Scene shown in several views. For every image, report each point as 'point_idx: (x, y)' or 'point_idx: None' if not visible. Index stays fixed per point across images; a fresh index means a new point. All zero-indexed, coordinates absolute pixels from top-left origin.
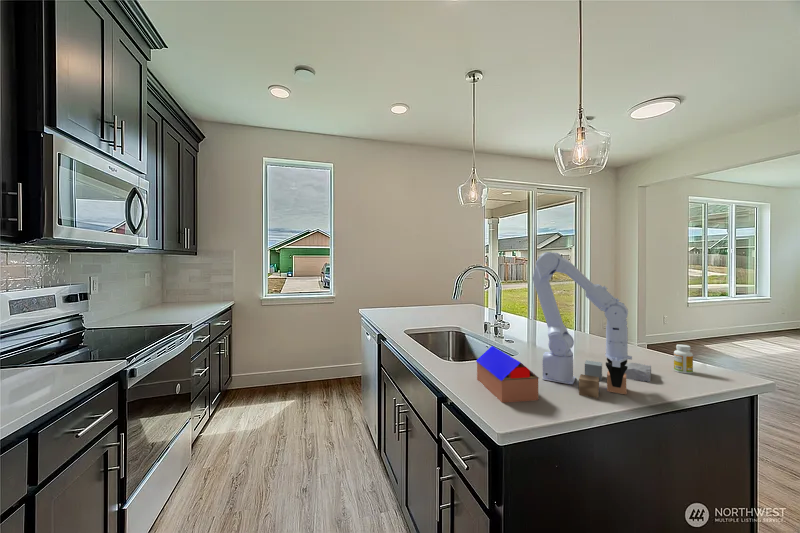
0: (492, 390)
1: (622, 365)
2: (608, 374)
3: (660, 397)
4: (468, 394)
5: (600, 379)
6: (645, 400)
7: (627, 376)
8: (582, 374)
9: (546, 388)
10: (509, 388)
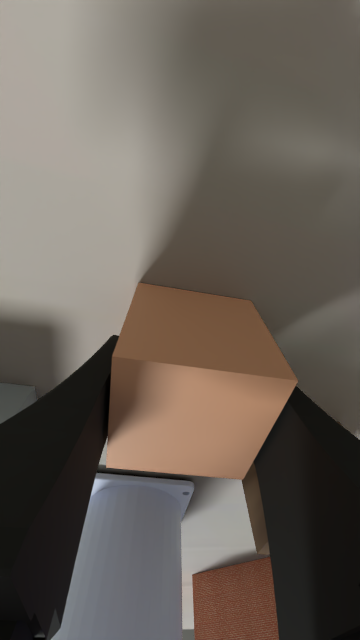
0: None
1: (71, 473)
2: (218, 471)
3: (251, 4)
4: None
5: (32, 393)
6: (350, 197)
7: None
8: (260, 549)
9: None
10: None
